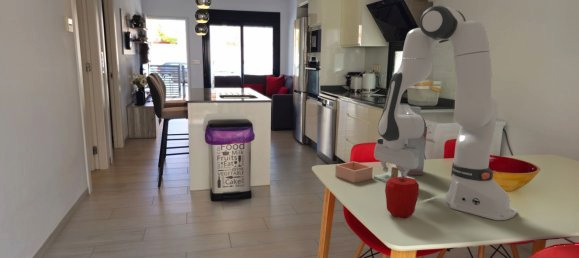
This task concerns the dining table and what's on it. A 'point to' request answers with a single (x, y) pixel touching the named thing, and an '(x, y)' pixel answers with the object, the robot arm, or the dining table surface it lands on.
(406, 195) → the apple
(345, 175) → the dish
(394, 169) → the lid
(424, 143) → the bottle
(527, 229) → the dining table surface
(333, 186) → the dining table surface
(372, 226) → the dining table surface
